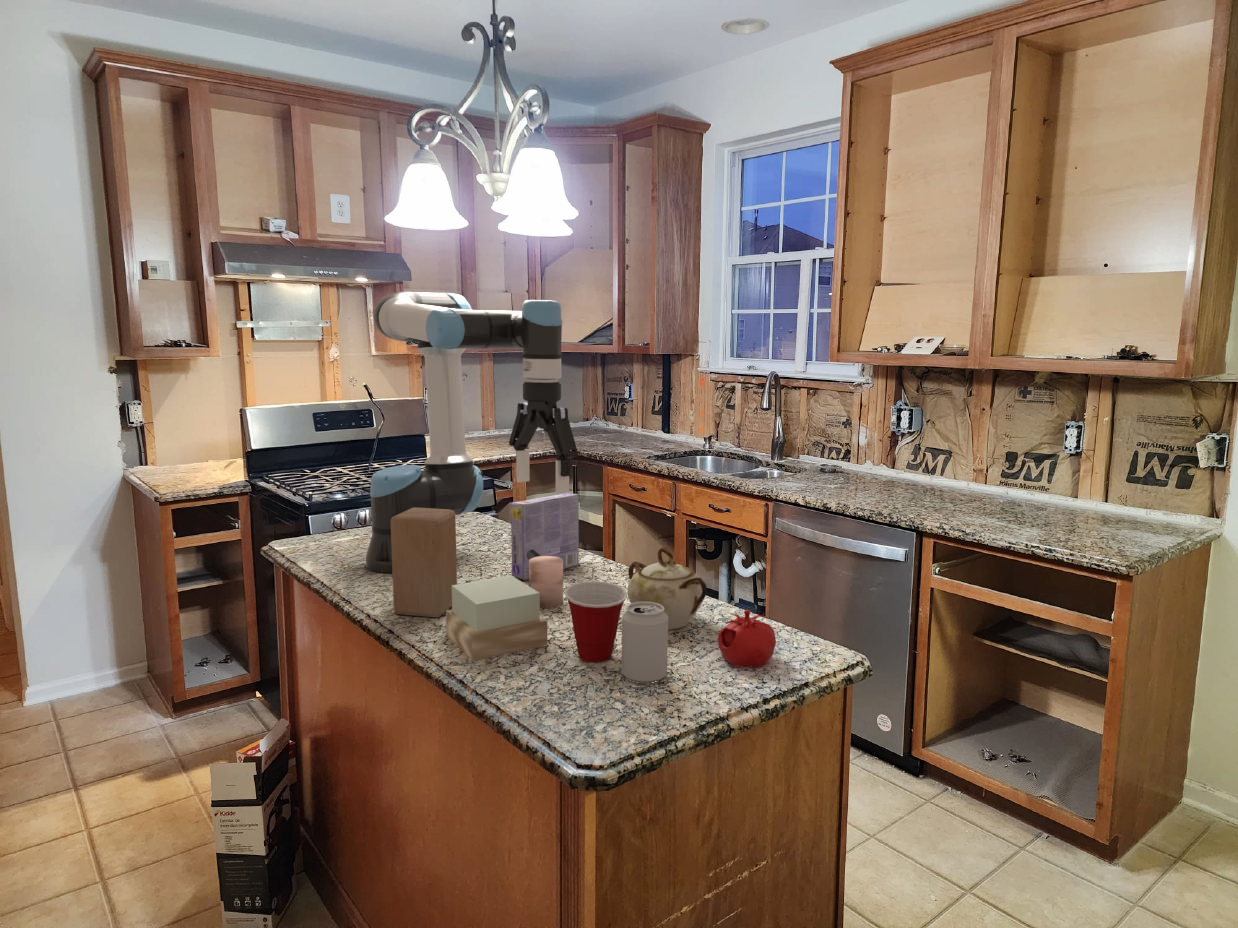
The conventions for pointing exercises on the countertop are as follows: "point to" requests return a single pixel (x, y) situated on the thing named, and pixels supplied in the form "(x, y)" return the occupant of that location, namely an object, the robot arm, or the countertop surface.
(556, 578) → the pink rounded cylinder
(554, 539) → the cake pan box
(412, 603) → the block
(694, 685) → the countertop surface
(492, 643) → the tower base
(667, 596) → the sugar bowl
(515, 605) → the tower top
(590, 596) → the plastic cup
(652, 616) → the can
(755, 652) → the pomegranate
